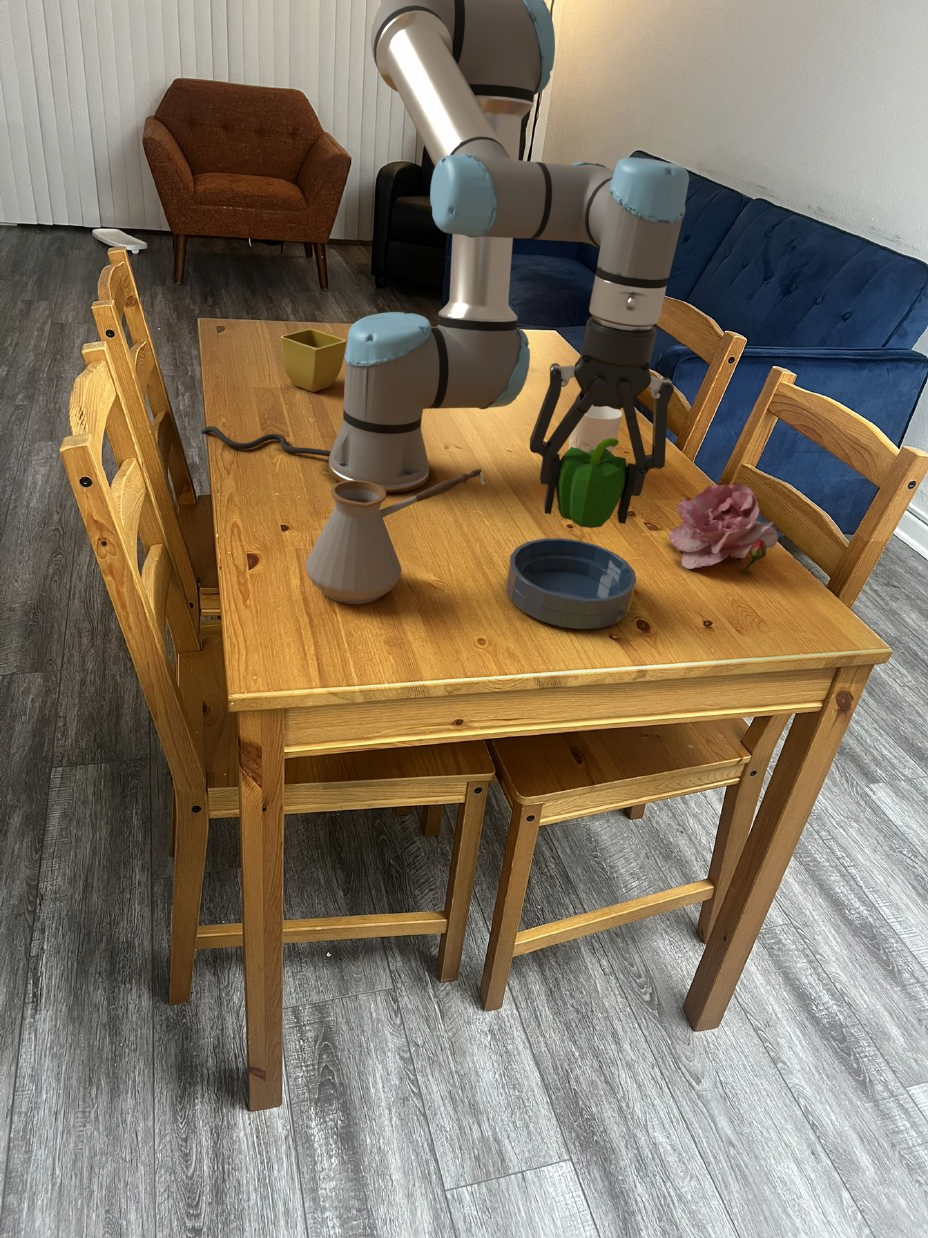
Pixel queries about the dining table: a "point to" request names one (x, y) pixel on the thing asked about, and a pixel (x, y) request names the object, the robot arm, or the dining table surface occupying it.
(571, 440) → the white cup
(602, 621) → the bowl
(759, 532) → the flower
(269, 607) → the dining table surface
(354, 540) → the coffee pot
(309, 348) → the flower pot
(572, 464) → the bell pepper
